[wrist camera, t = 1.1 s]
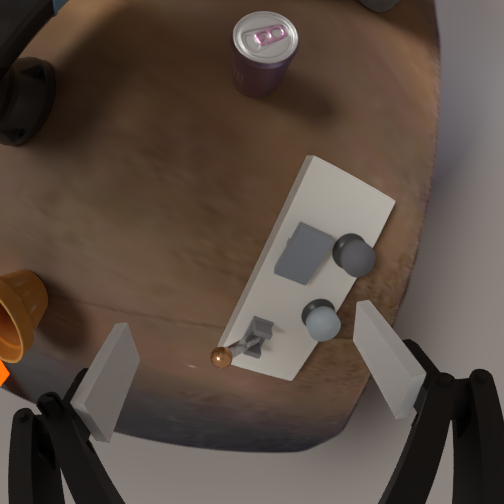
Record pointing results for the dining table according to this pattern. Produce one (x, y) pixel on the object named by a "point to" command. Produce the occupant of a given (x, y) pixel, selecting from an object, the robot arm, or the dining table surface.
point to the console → (322, 281)
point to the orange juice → (3, 373)
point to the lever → (232, 351)
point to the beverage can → (262, 52)
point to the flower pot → (20, 312)
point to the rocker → (303, 253)
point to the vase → (379, 4)
